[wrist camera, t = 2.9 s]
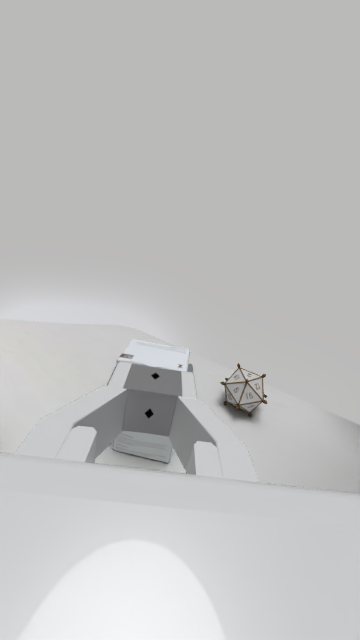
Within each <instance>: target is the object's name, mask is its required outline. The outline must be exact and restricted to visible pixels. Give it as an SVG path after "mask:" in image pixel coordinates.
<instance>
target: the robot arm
mask: <svg viewBox="0 0 360 640" xmlns="http://www.w3.org/2000/svg"><path fill="white" fill-rule="evenodd" d="M122 431H130V432H140V433H148V434H155V435H161V436H167V437H169V440H170V442H171V444H172V446H173V447H174V449H175V451H176V453H177V455H178V457H179V459H180V461H181V463H182V465H183V467H184V468H185V470H186V474H185V473H176V472H167V471H159V470H150V469H141V468H132V467H124V466H115V465H106V464H98V463H94V462H95V459H96V458H97V457H98V456H99V455H100V454H101V453H102V452H103V451H104V450H105V449H106V448H107V447H108V446H109V445H110V444H111V443H112V442H113V441H114V440H115V439H116V438H117V437H118V436H119V435H120V434H121V433H122ZM0 640H360V494H357V493H349V492H340V491H331V490H323V489H314V488H305V487H296V486H287V485H278V484H270V483H261V482H258V479H257V476H256V473H255V470H254V467H253V464H252V461H251V458H250V455H249V452H248V449H247V446H246V445H245V444H244V443H243V442H242V441H241V440H240V439H239V438H238V437H237V436H236V435H235V434H234V433H233V432H232V431H231V430H230V429H229V428H228V427H227V426H226V425H225V424H224V423H223V422H222V421H221V420H220V419H219V418H218V417H217V416H216V415H215V414H214V413H213V412H212V410H211V409H210V408H209V407H208V406H207V405H206V404H205V403H204V402H203V401H202V400H201V399H197V394H196V387H195V379H194V373H193V372H186V371H177V370H169V369H161V368H157V367H151V366H145V365H139V364H134V363H133V364H132V363H128V362H121V361H120V362H119V363H118V364H117V366H116V369H115V371H114V373H113V375H112V377H111V379H110V381H109V383H108V386H102V387H100V388H98V389H96V390H94V391H92V392H90V393H88V394H86V395H85V396H83V397H81V398H79V399H77V400H75V401H73V402H71V403H70V404H68V405H66V406H64V407H62V408H60V409H58V410H56V411H55V412H53V413H51V414H49V415H47V416H45V417H43V418H41V419H40V420H39V421H38V423H37V424H36V425H35V426H34V428H33V429H32V430H31V432H30V433H29V434H28V436H27V437H26V438H25V440H24V441H23V442H22V444H21V445H20V446H19V448H18V449H17V450H16V451H15V453H14V454H11V453H2V452H0Z"/></svg>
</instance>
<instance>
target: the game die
mask: <svg viewBox="0 0 360 640" xmlns="http://www.w3.org/2000/svg"><path fill="white" fill-rule="evenodd" d="M237 366H238V369H237V370H236V371H235V372H234V373H233V375H232V376H231V377H230V378H229V379H228V378H225V379H226V382H225V383H224V382H220V383H221V384H222V385H225V392H226V399H227V401H225V402H224V405H226V404H227V403H229V404H231V405H234V406H236V408H237V409H239V408H240V409H242V410H244V411H246V412H248V413H249V416H250V417H251V411H253V410H254V409H255V408H256V407H257V406H258V405H259V404H261V403H262V402H263V403H265V404H268V403H267V401H265V400H264V397H265V398H266V397H267V396H266V395H265V394H264V392H263V378H264V377H265V376H266V374H263V375H262V376H259V375H257V374H254V373H252V372H249V371H247V370H244V369H242V368H240V364H239V363H238V365H237Z"/></svg>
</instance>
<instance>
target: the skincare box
mask: <svg viewBox="0 0 360 640" xmlns="http://www.w3.org/2000/svg"><path fill="white" fill-rule="evenodd" d="M189 355H190V350H189V349H185V348H180V347H174V346H169V345H163V344H158V343H153V342H148V341H143V340H138V339H133V340H132V341H131V342H130V343H129V345H128V346H127V347H126V349H125V350H124V351H123V353H122V354H121V356H120V357H119V358H118V359H117V364H118V363H119V362H120V361H121V362H128V363H132V364H133V363H134V364H139V365H145V366H151V367H157V368H161V369H169V370H177V371H186V372H187V370H188V363H189ZM116 366H117V365H116ZM172 447H173V446H172V444H171V442H170V440H169V437H167V436H161V435H155V434H148V433H140V432H130V431H122V433H121V434H120V435H119V436H118V437H117V438H116V439H115V440H114V441H113V450H116V451H120V452H124V453H129V454H133V455H137V456H141V457H145V458H149V459H154V460H158V461H162V462H166V463H169V461H170V458H171V452H172Z"/></svg>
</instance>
